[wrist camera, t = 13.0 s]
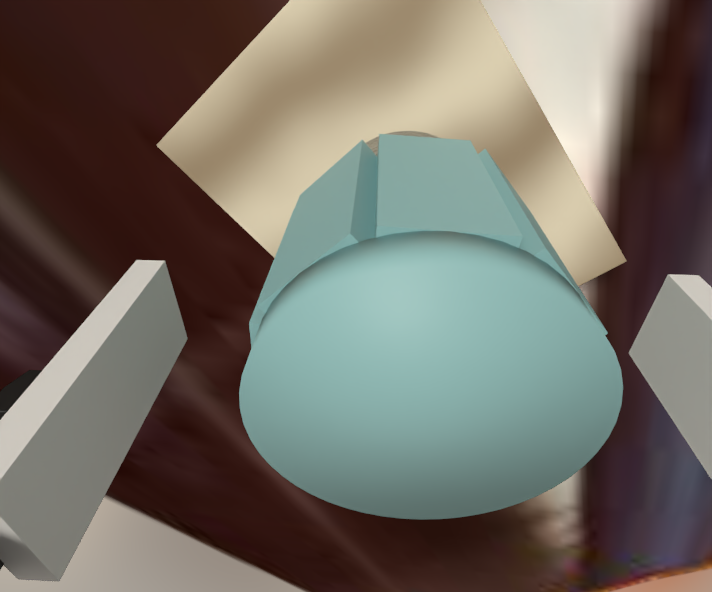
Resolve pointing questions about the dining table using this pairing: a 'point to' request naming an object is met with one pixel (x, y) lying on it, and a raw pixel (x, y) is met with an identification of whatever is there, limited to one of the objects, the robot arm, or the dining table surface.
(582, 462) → the cap
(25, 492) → the robot arm
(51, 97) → the dining table surface
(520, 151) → the board
